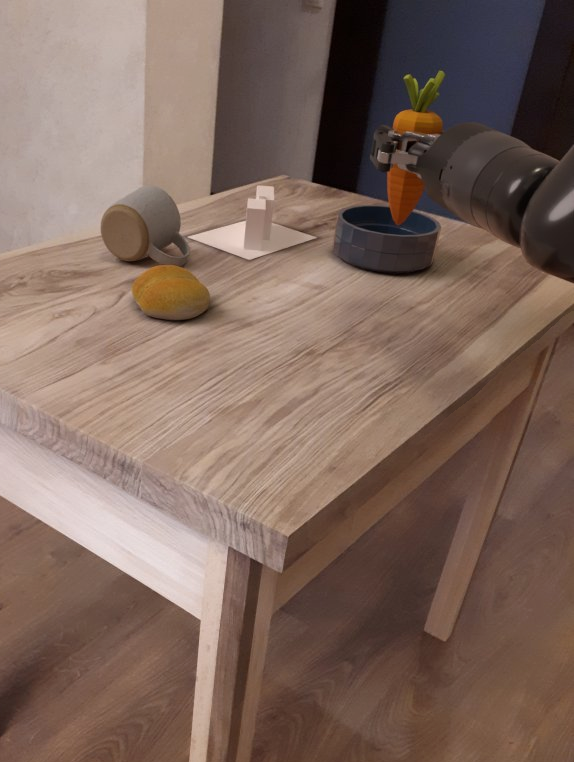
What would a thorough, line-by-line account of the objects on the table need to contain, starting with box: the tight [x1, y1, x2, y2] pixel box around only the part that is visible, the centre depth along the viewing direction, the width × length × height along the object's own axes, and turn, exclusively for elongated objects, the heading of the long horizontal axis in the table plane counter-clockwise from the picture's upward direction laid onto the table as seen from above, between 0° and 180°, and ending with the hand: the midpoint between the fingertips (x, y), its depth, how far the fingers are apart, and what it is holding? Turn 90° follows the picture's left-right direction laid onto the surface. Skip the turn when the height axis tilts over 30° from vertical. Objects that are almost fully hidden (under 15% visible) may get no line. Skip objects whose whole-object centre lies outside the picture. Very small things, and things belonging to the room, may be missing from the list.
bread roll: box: [131, 264, 211, 321], centre depth 87 cm, size 8×9×4 cm
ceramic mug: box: [100, 185, 191, 267], centre depth 98 cm, size 11×8×8 cm
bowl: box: [332, 204, 442, 274], centre depth 104 cm, size 13×13×5 cm
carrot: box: [386, 70, 446, 226], centre depth 82 cm, size 5×5×15 cm
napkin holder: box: [187, 184, 318, 261], centre depth 108 cm, size 15×11×6 cm
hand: (403, 136), depth 84 cm, fingers closed on carrot, 5 cm apart
